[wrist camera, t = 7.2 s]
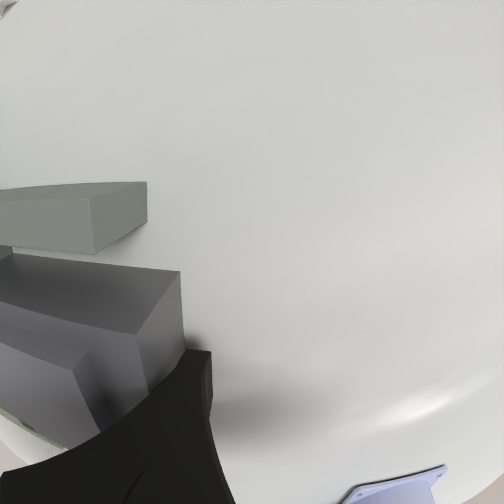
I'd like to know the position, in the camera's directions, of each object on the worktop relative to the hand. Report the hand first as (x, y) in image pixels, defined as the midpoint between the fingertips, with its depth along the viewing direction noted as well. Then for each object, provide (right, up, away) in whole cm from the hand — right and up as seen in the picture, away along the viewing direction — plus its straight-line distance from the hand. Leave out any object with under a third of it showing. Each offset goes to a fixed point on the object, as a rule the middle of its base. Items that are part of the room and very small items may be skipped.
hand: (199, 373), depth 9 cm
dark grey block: (-5, +1, +1) cm, 5 cm away
